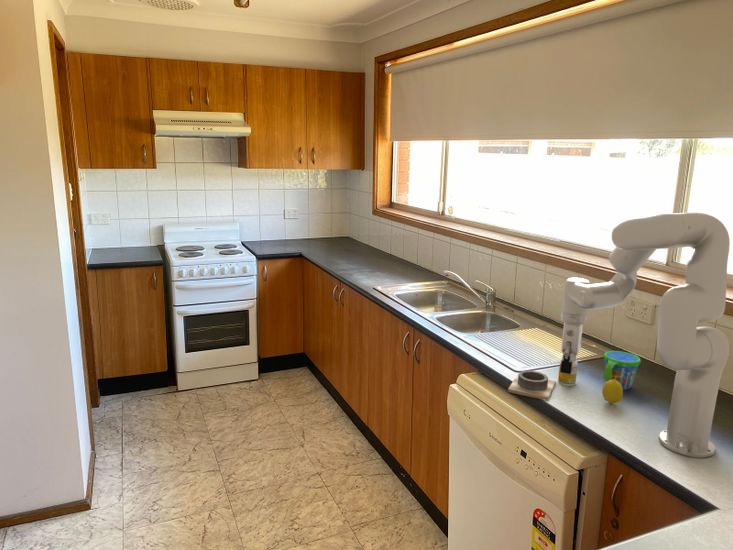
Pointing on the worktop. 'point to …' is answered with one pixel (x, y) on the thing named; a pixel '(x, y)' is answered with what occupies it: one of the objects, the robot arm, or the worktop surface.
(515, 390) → the collar board
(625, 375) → the snack cup
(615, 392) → the lemon
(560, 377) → the supplement bottle
